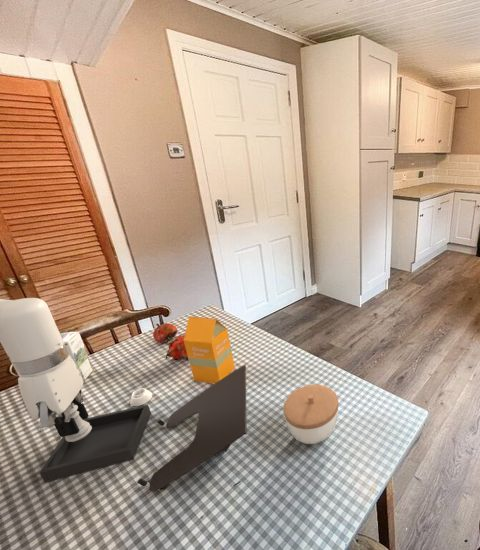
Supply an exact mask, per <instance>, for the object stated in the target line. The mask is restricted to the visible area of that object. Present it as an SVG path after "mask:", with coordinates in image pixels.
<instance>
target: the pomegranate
mask: <svg viewBox="0 0 480 550" xmlns="http://www.w3.org/2000/svg"><path fill="white" fill-rule="evenodd" d="M155 326H157V327H155V328H154V330H153V334H152V337H153V339H154V341H155V342H156V343H158V344H165V343H166V342H167V341H169V342H172V341H173V340H172V339H175V338H176V335H177V334H178V328H177V326H176V325H174V324H172V323H165V322H164V323H161V324H159V323H156V324H155Z"/></svg>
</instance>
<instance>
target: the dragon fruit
mask: <svg viewBox="0 0 480 550" xmlns="http://www.w3.org/2000/svg"><path fill="white" fill-rule="evenodd" d="M185 333H186V332H184V333H183V334H182V335H181V334H180V335H178V336H175V337H174V340H171V341H172V342H171V341H169V344H168V349H167V352H166V354H165V358H166V359H168V358H171V359H170V360H171V361H172V362H173V361H177V362H178V361H180V360H181V359H182V360H185V359H186V358H188V355H187V352H186V348H185V344H184V337H185Z"/></svg>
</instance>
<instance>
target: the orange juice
mask: <svg viewBox="0 0 480 550" xmlns="http://www.w3.org/2000/svg"><path fill="white" fill-rule="evenodd" d="M184 333H185V337H184V344H185V348H186V352H187V355H188V357H187V359H188V363H189V367H190V370H191V374H192V378H193V381H194V382H198V383H209V384H215V383H217V382H218V381H220V380H221V379H223V378H224V377H226V376H228V375H229V374H231V373H232V372H234V369H236V368H235V361H234V356H233V350H232V346H231V342H230V337H229V331H228V328H227V327H226V326H225V325H224V324H223V323H221V322H220V321H219V320H218V319H217V318H210V317H199V316H188V318H187V324H186V328H185V332H184Z"/></svg>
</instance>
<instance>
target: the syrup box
mask: <svg viewBox="0 0 480 550" xmlns="http://www.w3.org/2000/svg"><path fill="white" fill-rule="evenodd" d="M60 334H61V337H62V339H63V341H64V343H65V346H66V348H67V350H68V352H69V355H70V357H71V358H72V360H73V361H74V363H75V364H76V366H77V368H78V370H79V372H80V374H81V377H82V379H83V383H84V382H86V380H87V379H88V378H89V377H90V375H91V374H92V373H93V372H94V368H93V364H92V362H91V360H90V358H89V354H88V352H87V349H86V347H85V345H84V341H83V339H82V337H81V333H80V331H67V332H60Z"/></svg>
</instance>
